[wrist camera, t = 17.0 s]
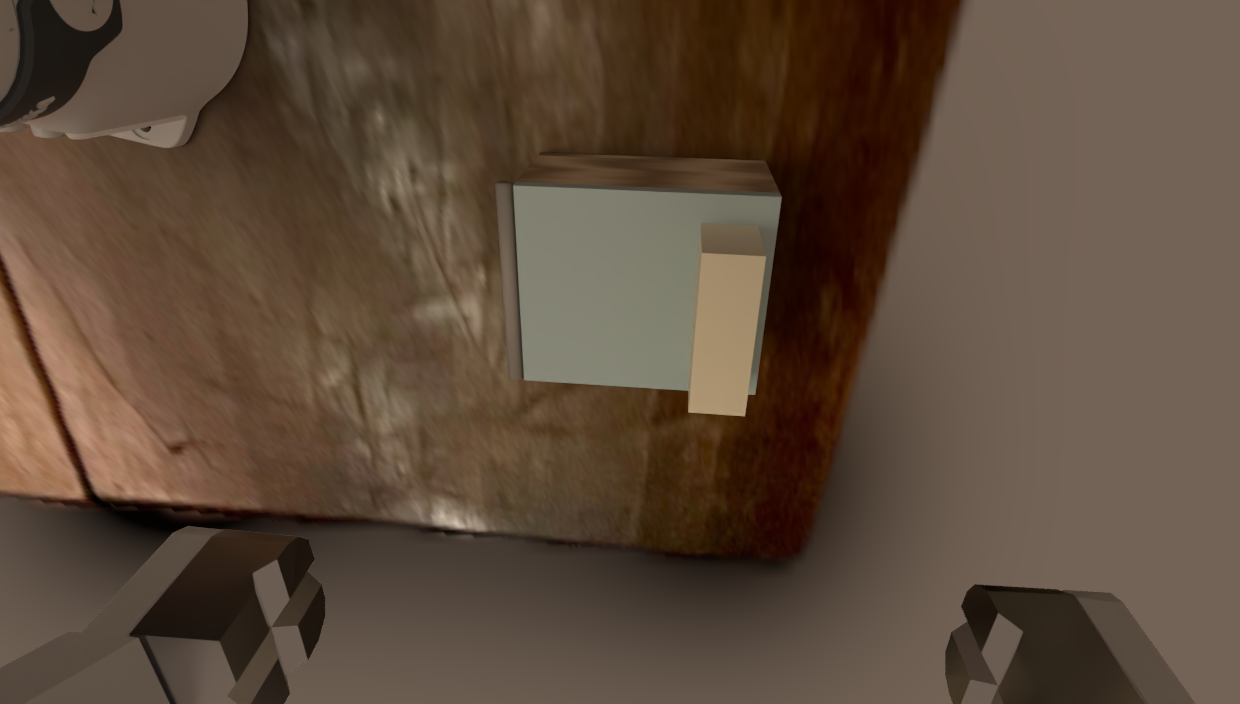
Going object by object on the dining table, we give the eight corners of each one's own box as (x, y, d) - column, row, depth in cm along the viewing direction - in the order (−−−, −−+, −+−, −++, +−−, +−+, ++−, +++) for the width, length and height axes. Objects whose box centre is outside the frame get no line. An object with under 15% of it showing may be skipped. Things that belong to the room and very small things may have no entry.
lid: (510, 372, 43) (507, 379, 42) (497, 180, 37) (493, 185, 36) (754, 387, 41) (755, 395, 41) (780, 192, 36) (781, 197, 35)
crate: (546, 323, 49) (527, 373, 42) (540, 152, 43) (516, 181, 37) (744, 333, 48) (753, 386, 42) (765, 160, 42) (779, 191, 36)
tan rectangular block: (688, 370, 40) (688, 412, 36) (700, 223, 36) (701, 253, 32) (739, 373, 40) (744, 416, 36) (758, 225, 36) (766, 256, 32)
